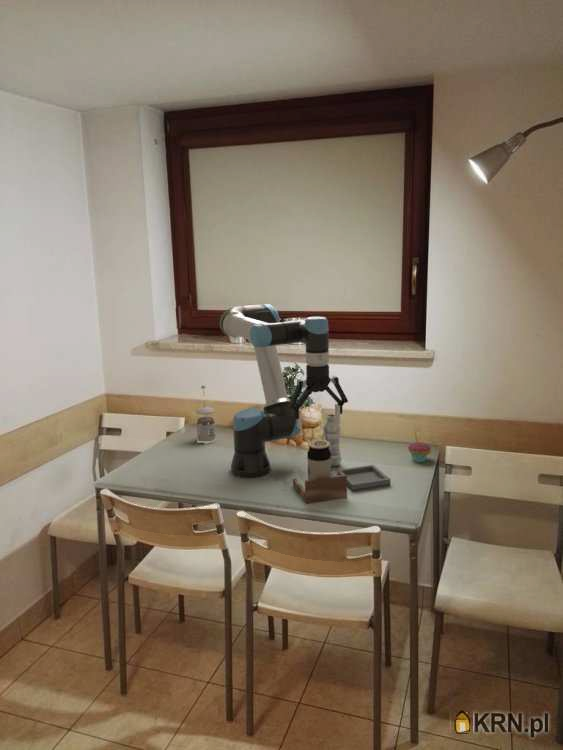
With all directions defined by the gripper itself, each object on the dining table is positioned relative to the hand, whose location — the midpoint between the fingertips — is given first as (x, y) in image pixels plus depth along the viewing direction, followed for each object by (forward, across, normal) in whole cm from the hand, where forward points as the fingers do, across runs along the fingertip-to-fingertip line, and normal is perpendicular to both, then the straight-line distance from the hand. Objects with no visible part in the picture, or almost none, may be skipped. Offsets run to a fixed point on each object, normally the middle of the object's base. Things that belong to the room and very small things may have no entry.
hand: (318, 425), depth 207 cm
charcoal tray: (+24, +18, +4) cm, 31 cm away
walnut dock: (+24, 0, 0) cm, 24 cm away
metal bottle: (+24, +13, +22) cm, 36 cm away
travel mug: (+25, 0, 0) cm, 25 cm away
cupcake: (+25, +46, +15) cm, 55 cm away
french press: (+24, -28, +69) cm, 79 cm away
